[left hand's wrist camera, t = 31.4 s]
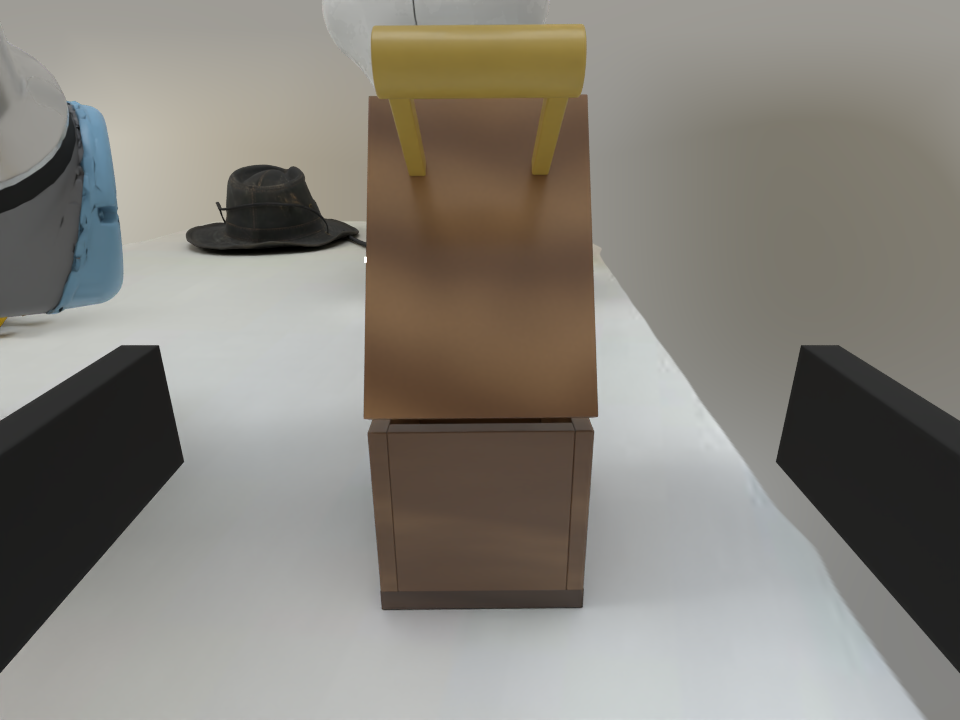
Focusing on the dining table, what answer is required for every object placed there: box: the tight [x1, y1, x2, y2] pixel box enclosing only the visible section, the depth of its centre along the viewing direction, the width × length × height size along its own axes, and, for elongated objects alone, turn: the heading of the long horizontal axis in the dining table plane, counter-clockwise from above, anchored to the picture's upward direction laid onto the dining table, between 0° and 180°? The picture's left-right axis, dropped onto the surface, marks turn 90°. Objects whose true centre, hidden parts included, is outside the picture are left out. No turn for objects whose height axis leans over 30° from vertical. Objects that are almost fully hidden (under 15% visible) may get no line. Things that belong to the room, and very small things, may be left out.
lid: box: [364, 24, 598, 420], centre depth 21 cm, size 14×9×9 cm
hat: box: [186, 165, 359, 249], centre depth 120 cm, size 32×35×14 cm
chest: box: [368, 418, 594, 609], centre depth 32 cm, size 13×9×9 cm
